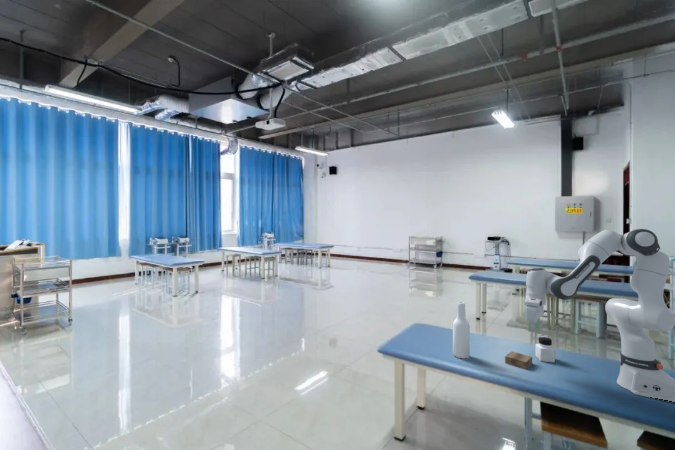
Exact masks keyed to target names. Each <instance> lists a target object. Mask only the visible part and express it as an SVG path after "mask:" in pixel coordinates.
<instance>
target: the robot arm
mask: <svg viewBox="0 0 675 450" xmlns="http://www.w3.org/2000/svg"><path fill="white" fill-rule="evenodd" d="M660 249H661V247H660V244H659V239H658V237H657V234H655V232H654V231H652V230H649V229H645V228H637V229H633V230H631V231H628V232H626V233H624V234H619V233H618V232H616V231H614V230H611V229H604V230H601V231H600V232H598V233H596V234H595V235H593V236H592V237H590V238H589V239H588V240H587V241H585V243H583V244H582V245H581V246H580V248H579V249H578V251H577V256H578V259H579V261H580V262H579V264H578V265H577V266H576V267H575V268H574V269H573V270H572V271H571V272H570V273H569V274H568V275H566V276H564V277H562V276H559V275H557V274H554V273H552V272H550V271H548V270H546V268H543V267H533V268H530V269H528V271H527V273H526V278H525V285H526V290H525V299H524V305H525V319H526V321H527V322H528V321H531V328H533V329H535V328H536V321H541V320H540V319H541V317H543V316H544V313H545V312H544V310H545V309H544V306H546V305H547V294H550V295H553V296H555V297H556V298H558V299H559V300H564V301H567V300H571V299H573V298H574V297H575V296H577V294H578V292H579V289H580V287H581V286H582V285H583V284H584V283H585V281H587V280H589V278H590V277H591V276H592V275H593V274H594V272H595V271H597V269H599V267H600V266H601V265H602V263H604V262H605V261H606V260H607V259H608V258H609V257H611V255H612V254H614V253H615V252H616V253H618V254H620V255H623V256H626V257H635V260H636V264H635V267H634V270H633V272H632V275H631V279H630V282H629V286H630V288H631V290H632V291H633V292H635V293H636V294H637V295H638V300H632V299H627V298H621V297H617V298H616V297H612V298H610V299H608V301H607V302H606V303H605V306H604V307H605V308H604V309H605V313H606V315H607V316H608V317H609V318H611V319H612V320H613V322H614V324H615V325H616V328H617V329H618V332H619V335H620V342H621V343H620V344H621V345H620V346H621V351H620V353H619V365H620V369H619V373H618V376H617V379H616V384H617V385H619V386H620V387H622V388H624V389H626V390H628V391H629V392H631V393H633V394H634V395H637V396H642V397H646V398H650V397H652V398H651V399H655V398H658V399H657V400H659V399H663V400H662V401H664V400H668V401H667V402H669V401H672V402H671V403H673V402H675V378H674V377H672V376H671V375H669V374H668V373H667V372H666V371H665V370H663V369H664V366H663V364H662V362H661V361H660V360H657V359H656V358H655V357H656V356H655V353H656V351H655V348H656V347H655V342H654V340H653V339H652V338H651V337H650V336H649V335H648V334H647V332H645V330H644V329H647V330H650V331H657V332H669V331H672V329H673V328H674V327H675V314H674V313H673V312H672V310H671V309H670V308H668V306H667V304H666V303H665V299H664V292H665V291H664V290H665V287H666V282H667V278H668V275H669V272H670V271H669V269H670V257H669V255H667V254H666V253H665V252H662V251H660Z"/></svg>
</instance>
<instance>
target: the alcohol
mask: <svg viewBox="0 0 675 450" xmlns="http://www.w3.org/2000/svg"><path fill="white" fill-rule="evenodd" d="M456 313H457V314H456V317H455V319H454V320H453V323H452V354H453V356H454V357H455V356H456V357H455V358H457V357H458V358H457V359H460V358H462V359H461V360H463V359H464V360H466V359H465V358H467V359H469V357H471V356H470V355H471V354H470V352H471V351H470V350H471V349H470V346H471V345H470V341H471V337H470V336H471V335H470V334H471V333H470V332H471V330H470V329H471V326H470V323H469V321H468V320H467V317H466V316H467V315H466V302H464V301H457V311H456Z"/></svg>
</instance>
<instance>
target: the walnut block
mask: <svg viewBox="0 0 675 450" xmlns="http://www.w3.org/2000/svg"><path fill="white" fill-rule="evenodd" d="M504 364H507V365H511V366H513V367H516V368H520V369H524V370H527V369H528V368H530V367H531V366H532V365H533V356H530V355H527V354H523V353H520V352H515V351H510V352H509V353H508V354H506V355H505V357H504Z"/></svg>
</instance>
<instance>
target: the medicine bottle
mask: <svg viewBox="0 0 675 450" xmlns="http://www.w3.org/2000/svg"><path fill="white" fill-rule="evenodd" d="M552 341H553V340H552V339H551V338H550V337H548V336H543V335H541V336H539V337H538V343H535V344H534V345H535V352H534V353H535V357H536V358H537V359H538V360H539V361H540V362H543V363H545V362H546V363H556V349H555V347H553V346H552V345H553V344H552V343H553V342H552Z"/></svg>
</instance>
